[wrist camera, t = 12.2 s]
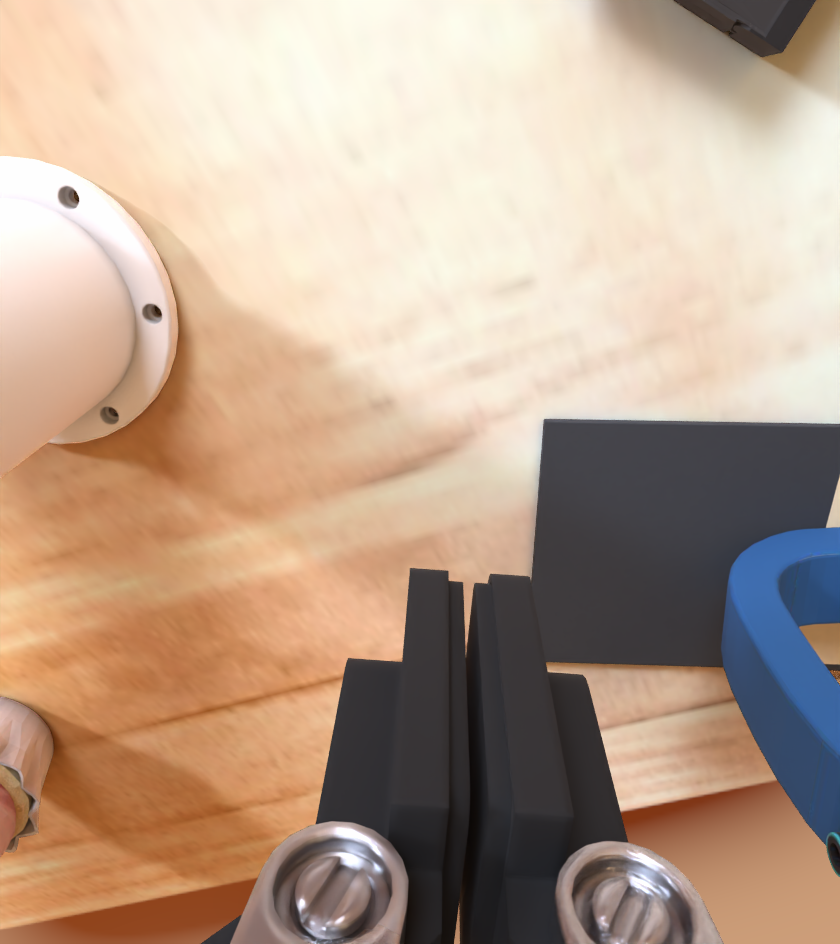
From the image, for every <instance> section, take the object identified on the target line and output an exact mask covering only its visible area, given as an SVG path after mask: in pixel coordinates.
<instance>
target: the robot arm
mask: <svg viewBox="0 0 840 944" xmlns="http://www.w3.org/2000/svg"><path fill="white" fill-rule="evenodd" d="M74 191H76V192H77V194H78V196H79V202H77V201H76V200H75V198H74V196H73V195H74ZM155 305H156V306H157V307H158V308H159V309H160V310H161V313H162V315H158V314H157V313H156V312H155V309H154V308H155ZM177 339H178V319H177V307H176V301H175V297H174V294H173V290H172V287H171V283H170V279H169V276H168V274H167V272H166V269H165V267H164V265H163V263H162V261H161V259H160V257H159V255H158V253H157V250H156V249H155V247H154V246H153V244H152V243H151V241H150V240H149V238H148V237H147V236H146V234H145V233H144V231H143V230H142V228H141V227H140V225H139V224H138V223H137V222H136V221H135V220H134V219H133V218H132V217H131V216H130V215H129V214H128V213H127V212H126V210H125V209H124V208H123V207H122V206H121V205H120V204H119V203H118V202H117V201H116V200H114V199H113V198H112V197H110V196H109V195H108V194H106V193H105V192H104V191H102V190H101V189H100V188H98V187H97V186H96V185H94V184H93V183H92V182H90V181H88V180H86V179H84V178H82V177H80V176H78V175H76V174H74V173H72V172H70V171H68V170H66V169H65V168H62V167H58V166H55V165H52V164H49V163H45V162H42V161H39V160H36V159H27V158H18V157H9V156H4V157H0V479H1V478H2V477H3V476H5V475H6V474H7V473H8V472H10V471H11V470H12V469H14V468H15V467H16V466H17V465H19V464H20V463H21V462H23V461H24V460H25V459H27V458H28V457H29V456H30V455H32V454H33V453H34V452H36V451H37V450H38V449H40V448H41V447H42V446H43V445H45V444H46V443H53V444H68V443H82V442H87V441H90V440H94V439H98V438H101V437H105V436H107V435H109V434H111V433H113V432H115V431H117V430H119V429H121V428H123V427H125V426H126V425H128V424H129V423H130V422H131V421H133V420H134V419H135V418H136V417H137V416H139V415H140V414H141V413H142V412H143V411H144V410H145V409H146V408H147V407H148V406H149V405H150V404H151V403H152V402H153V401H154V399H155V398H156V397H157V396H158V394H159V393H160V391H161V389H162V388H163V386H164V384H165V382H166V381H167V379H168V377H169V374H170V371H171V368H172V365H173V362H174V359H175V356H176V349H177ZM113 409H115V410H116V411H117V413H116V412H115V411H114V410H113ZM459 904H460V906H459ZM458 906H459V907H460V908H459V909H460V944H724V943H723V941H722V939H721V937H720V935H719V933H718V931H717V928H716V927H715V924H714V922H713V921H712V918H711V916H710V914H709V912H708V910H707V908H706V906H705V904H704V902H703V900H702V899H701V898H700V896H699V894H698V892H697V891H696V889H695V888H694V886H693V885H692V883H691V882H690V880H689V879H687V878H686V877H685V876H684V875H683V874H682V873H681V872H680V871H679V870H678V869H677V868H676V867H675V866H674V865H673V864H672V863H671V862H669V861H667V860H666V859H664V858H662V857H661V856H659V855H657V854H656V853H654V852H653V851H651V850H648V849H645V848H642V847H640V846H637V845H634V844H630V843H628V840H627V836H626V832H625V828H624V824H623V820H622V816H621V812H620V808H619V805H618V801H617V797H616V793H615V789H614V785H613V781H612V777H611V773H610V769H609V765H608V761H607V757H606V753H605V749H604V745H603V741H602V737H601V733H600V730H599V726H598V722H597V718H596V714H595V710H594V706H593V702H592V698H591V694H590V690H589V686H588V684H587V681H586V678H585V677H584V676H583V675H578V674H564V673H550V672H547V667H546V661H545V656H544V650H543V645H542V639H541V634H540V629H539V623H538V618H537V612H536V607H535V602H534V596H533V591H532V585H531V580H530V577H528V576H515V575H500V574H490V576H489V580H488V584H482V583H475V584H474V589H473V597H472V606H471V615H470V625H469V634H468V643H467V652H466V653H465V624H464V596H463V582H453V581H448V571H443V570H429V569H415V568H410V577H409V589H408V601H407V613H406V625H405V637H404V648H403V660H402V662H394V661H380V660H366V659H352V658H348V660H347V663H346V667H345V672H344V677H343V682H342V688H341V693H340V698H339V704H338V709H337V714H336V720H335V725H334V730H333V735H332V741H331V746H330V751H329V757H328V762H327V767H326V772H325V778H324V783H323V788H322V794H321V799H320V804H319V810H318V815H317V820H316V825H311V826H308V827H306V828H304V829H302V830H300V831H298V832H296V833H294V834H292V835H290V836H289V837H288V838H287V839H285V840H284V841H283V842H282V843H281V844H280V845H279V846H278V847H277V848H275V849H274V850H273V851H272V853H271V855H270V856H269V858H268V860H267V861H266V863H265V865H264V866H263V868H262V869H261V871H260V874H259V876H258V879H257V881H256V883H255V886H254V888H253V891H252V893H251V895H250V898H249V900H248V902H247V905H246V907H245V910H244V912H243V914H242V915H240V916H239V917H238V918H236V919H235V920H233V921H232V922H230V923H229V924H228V925H226V926H225V927H223V928H222V929H221V930H219V931H218V932H216V933H215V934H214V935H212V936H211V937H210V938H208V939H207V940H205V941H204V942H202V943H201V944H454V938H455V930H456V922H457V914H458Z"/></svg>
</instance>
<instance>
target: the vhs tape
mask: <svg viewBox="0 0 840 944" xmlns="http://www.w3.org/2000/svg"><path fill="white" fill-rule="evenodd" d="M674 1H676V2H677V3H679V4H680V5H682V6H683V7H685V8H686V9H688V10H690V11H691V12H693V13H694V14H696V15H697V16H699V17H700V18H702V19H703V20H705V21H707V22H708V23H710V24H711V25H713V26H714V27H716V28H717V29H719V30H720V31H722V32H725V31H728V30H729V31H730V34H729V36H730V37H731V38H733V39H734V40H736V41H737V42H739V43H741V44H742V45H744V46H745V47H747V48H748V49H750V50H751V51H753V52H754V53H756V54H758V55H759V56H761V57H765V56H769V55H773V54H778V53H782V52H783V51H784V49H785V48H786V46H787V45H788V43H789V41H790V40H791V38H792V37H793V35H794V34H795V32H796V31H797V29H798V27H799V26H800V24H801V23H802V21H803V20H804V18H805V16H806V15H807V13H808V12H809V10H810V9H811V7H812V6H813V4H814V2H815V1H816V0H674Z"/></svg>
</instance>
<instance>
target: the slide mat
mask: <svg viewBox="0 0 840 944" xmlns="http://www.w3.org/2000/svg"><path fill="white" fill-rule="evenodd" d="M831 527H840V424H807V423H748V422H689V421H631V420H572V419H544V425H543V438H542V451H541V464H540V477H539V490H538V503H537V516H536V529H535V542H534V554H533V567H532V580H531V585H532V591H533V596H534V602H535V607H536V612H537V618H538V623H539V629H540V634H541V639H542V645H543V650H544V656H545V661H546V662H566V663H600V664H633V665H667V666H701V667H724V666H723V659H722V652H721V643H722V633H723V624H724V614H725V605H726V595H727V586H728V579H729V574H730V569H731V566H732V565H733V563H734V562H735V561H736V559H737V558H738V556H739V555H740V554H741V553H742V552H743V551H745V550H746V549H747V548H749V547H750V546H751V545H753V544H755V543H757V542H759V541H761V540H764V539H766V538H768V537H770V536H773V535H777V534H780V533H784V532H787V531H793V530H800V529H812V528H831ZM799 628H800V630H801V631H802V633H803V634H804V636H805V637H806V639H807V640H808V642H809V643H810V645H811V646H812V647H813V649H814V650H815V652H816V653H817V655H818V656H819V657H820V659H821V660H822V662H823V663H824V664H825V666H826V667H827V668H828V670H836V671H840V623H833V624H813V625H806V626H799Z"/></svg>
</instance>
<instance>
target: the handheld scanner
mask: <svg viewBox="0 0 840 944" xmlns="http://www.w3.org/2000/svg"><path fill="white" fill-rule="evenodd" d="M833 623H840V527H831V528H812V529H800V530H793V531H787V532H784V533H780V534H777V535H773V536H770V537H768V538H766V539H764V540H761V541H759V542H757V543H755V544H753V545H751V546H750V547H749V548H747V549H746V550H745V551H743V552H742V553H741V554H740V555H739V556H738V558H737V559H736V561H735V562H734V563H733V565H732V566H731V569H730V574H729V579H728V586H727V595H726V605H725V614H724V624H723V633H722V643H721V652H722V659H723V666H724V670H725V673H726V676H727V679H728V682H729V684H730V687H731V690H732V692H733V694H734V697H735V699H736V701H737V703H738V705H739V708H740V710H741V712H742V714H743V716H744V718H745V720H746V722H747V725H748V727H749V729H750V731H751V733H752V735H753V737H754V739H755V741H756V743H757V744H758V746H759V748H760V750H761V752H762V753H763V755H764V757H765V759H766V761H767V762H768V764H769V766H770V768H771V769H772V771H773V773H774V775H775V777H776V778H777V780H778V781H779V783H780V784H781V786H782V787H783V789H784V790H785V792H786V793H787V795H788V796H789V798H790V799H791V801H792V802H793V804H794V805H795V807H796V808H797V810H798V811H799V813H800V814H801V815H802V817H803V819H804V820H805V821H806V823H807V824H808V825H809V827H810V828H811V829H812V830H813V831H814V832H815V834H816V835H817V836H818V837H819V838H820V839H821V840H822V842H824V844H825V845H826V846H827V853H828V857H829V860H830V863H831V865H832V868H833V870H834V871H835V873H836V874H837V875H838V876H839V877H840V685H839V683H838V682H837V681H836V679H835V678H834V676H833V675H832V674H831V672H830V671H829V670H828V668H827V667H826V666H825V664H824V663H823V662H822V660H821V659H820V657H819V656H818V655H817V653H816V652H815V650H814V649H813V647H812V646H811V645H810V643H809V642H808V640H807V639H806V637H805V636H804V634H803V633H802V631H801V630H800V628H799V626H806V625H813V624H833Z"/></svg>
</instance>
